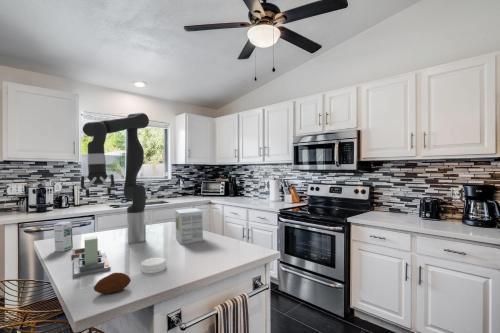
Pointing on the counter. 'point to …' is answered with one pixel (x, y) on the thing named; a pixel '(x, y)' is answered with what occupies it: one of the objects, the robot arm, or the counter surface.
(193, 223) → the supplement box
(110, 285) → the potato
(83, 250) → the bracket
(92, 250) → the peg
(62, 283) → the counter surface
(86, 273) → the rack
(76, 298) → the counter surface
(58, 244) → the syrup box
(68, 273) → the counter surface
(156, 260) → the coaster
